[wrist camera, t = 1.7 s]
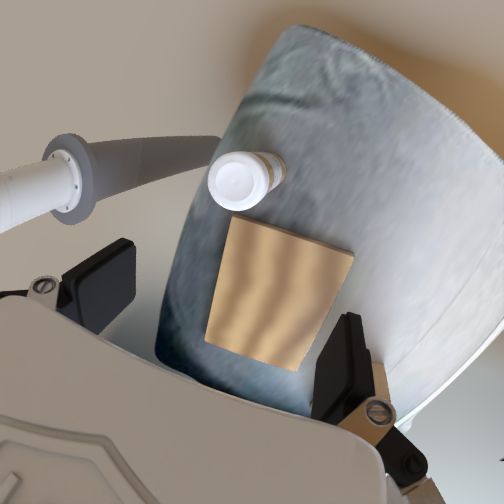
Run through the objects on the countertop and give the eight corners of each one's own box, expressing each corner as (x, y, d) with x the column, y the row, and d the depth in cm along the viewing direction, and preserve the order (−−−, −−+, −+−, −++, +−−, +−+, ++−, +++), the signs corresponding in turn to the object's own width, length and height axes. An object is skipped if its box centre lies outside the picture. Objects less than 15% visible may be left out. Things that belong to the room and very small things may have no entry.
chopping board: (207, 335, 45) (204, 340, 43) (235, 212, 35) (231, 215, 34) (296, 366, 43) (295, 372, 42) (353, 252, 34) (355, 257, 32)
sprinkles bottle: (242, 164, 32) (195, 173, 20) (273, 144, 31) (242, 139, 19) (262, 195, 33) (226, 222, 21) (294, 176, 32) (276, 192, 19)
